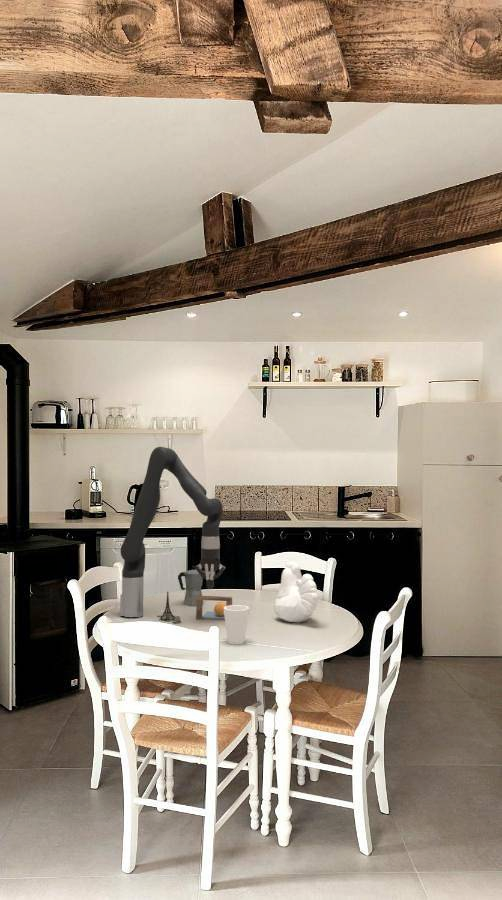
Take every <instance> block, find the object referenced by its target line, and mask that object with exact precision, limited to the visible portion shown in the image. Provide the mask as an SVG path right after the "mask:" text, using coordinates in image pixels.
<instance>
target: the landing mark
mask: <svg viewBox="0 0 502 900" xmlns="http://www.w3.org/2000/svg"><path fill="white" fill-rule="evenodd" d="M202 619H215V620H216V619H218V620H225V616H218V615H216V613H215V612H214V610H213V611H212V610H211V611H210V610H207V611H206V612H204V614H202Z"/></svg>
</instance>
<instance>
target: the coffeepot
mask: <svg viewBox="0 0 502 900" xmlns="http://www.w3.org/2000/svg"><path fill="white" fill-rule="evenodd" d="M196 566H197V565H192V566H191V568H192V569H191V570H190V569H189V570H186V571H181V572H179V574H178V575H177V580H178V582H179V587H180V590H181V591H185V594H184V600H183V604H185V605H184V606H186V605H187V607H196V597H197V596H203V592H202V587H203V580H204V578H202V577H201V575H200V574H199V573H198V571H197V570H196V569H195V567H196ZM202 571H203V572H204V573H205V574H206V572H205V570H202ZM182 577H184V583H185V586H186V587H184V584H183V580H182V579H183V578H182ZM203 605H204V600H202V606H203Z"/></svg>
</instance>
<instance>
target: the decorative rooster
mask: <svg viewBox="0 0 502 900" xmlns="http://www.w3.org/2000/svg"><path fill="white" fill-rule="evenodd" d="M280 578H281V579H280V586H279V591H278V593H277V596H276V599H275V601H274V605H273V610H274V614H275V615H276V616H277V617H278V618H279V619H282V620H284V621H286V622H290V623H303V622H306V621H307V620H309V618H310V617H311V616H312V615H313V614H314V612H315V611H316V610H317V605H318V601H319V596H318V593H317V592H318V589H317V584H316V582H315V581H314V577H313V576H312V575H311V574H310V573H305V574H303V575H302V572H301V565H299V564H298V562H296V561H294V560H292V561H288V562H287V563H286V566H285V568H284V569H283V570H282V572H281V577H280Z"/></svg>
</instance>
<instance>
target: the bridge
mask: <svg viewBox="0 0 502 900" xmlns="http://www.w3.org/2000/svg"><path fill="white" fill-rule="evenodd" d="M202 600H203V601H216V602H217V601H218V602H219V601H220V602H226V603H225V604H226V606H230V605H233V596H222V595H221V596H220V595H219V596H218V595H202V596H197V597H196V606H195V607H196V609H195V610H196V611H195V620H196V621H202V620H203V618H202V616H203V605H202Z"/></svg>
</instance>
